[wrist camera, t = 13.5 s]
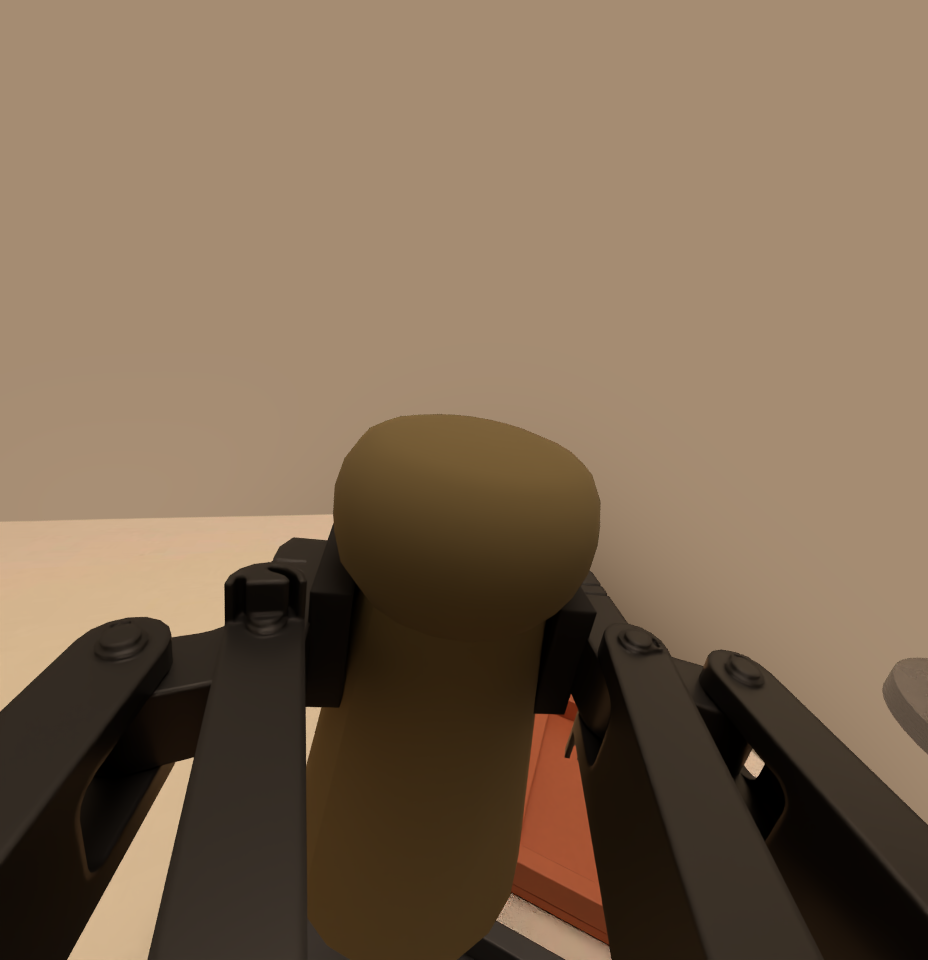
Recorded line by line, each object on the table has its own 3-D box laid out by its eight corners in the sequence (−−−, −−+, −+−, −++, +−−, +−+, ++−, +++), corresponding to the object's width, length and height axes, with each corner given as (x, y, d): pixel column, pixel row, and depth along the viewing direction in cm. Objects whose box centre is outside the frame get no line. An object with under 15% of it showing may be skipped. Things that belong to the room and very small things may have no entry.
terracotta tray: (714, 778, 28) (727, 754, 28) (762, 1028, 18) (783, 1000, 17) (537, 704, 32) (544, 681, 31) (489, 880, 21) (497, 851, 20)
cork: (460, 706, 16) (526, 402, 12) (564, 899, 11) (726, 486, 7) (277, 755, 13) (293, 380, 10) (307, 1044, 8) (363, 493, 5)
